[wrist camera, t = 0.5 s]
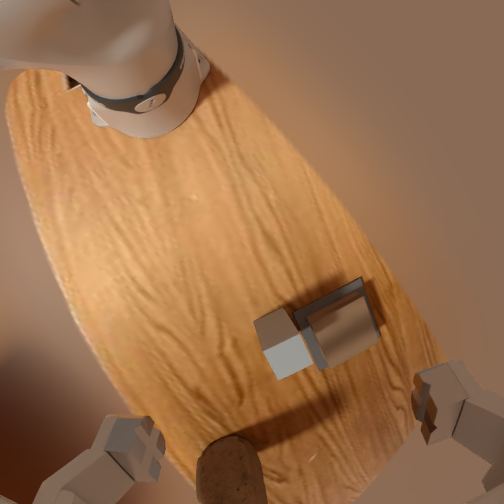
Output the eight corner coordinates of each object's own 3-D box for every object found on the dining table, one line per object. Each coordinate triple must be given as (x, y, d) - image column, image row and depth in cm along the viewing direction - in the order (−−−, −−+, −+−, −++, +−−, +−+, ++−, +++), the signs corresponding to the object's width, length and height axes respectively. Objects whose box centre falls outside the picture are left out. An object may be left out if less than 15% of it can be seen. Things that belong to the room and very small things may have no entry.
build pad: (292, 312, 49) (293, 313, 48) (359, 277, 49) (360, 277, 48) (318, 369, 51) (319, 370, 51) (379, 336, 51) (380, 337, 51)
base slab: (305, 316, 48) (311, 324, 46) (355, 290, 49) (363, 295, 46) (324, 360, 50) (330, 368, 47) (370, 334, 51) (378, 341, 48)
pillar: (253, 321, 48) (262, 351, 38) (282, 307, 48) (299, 333, 38) (266, 347, 49) (278, 380, 39) (295, 333, 49) (313, 363, 39)
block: (244, 428, 51) (259, 513, 32) (260, 451, 53) (278, 531, 33) (192, 446, 51) (189, 530, 32) (211, 468, 53) (214, 547, 33)
